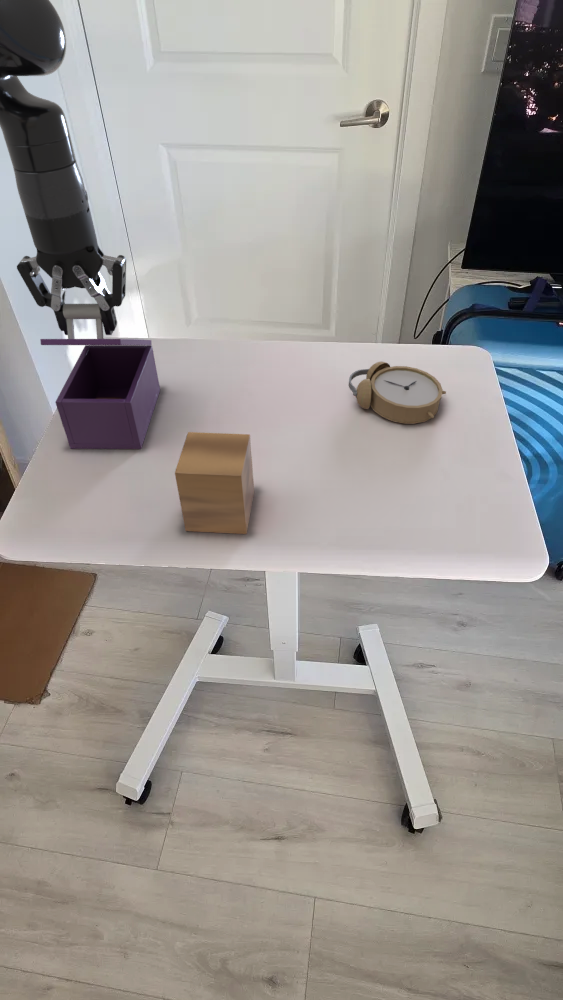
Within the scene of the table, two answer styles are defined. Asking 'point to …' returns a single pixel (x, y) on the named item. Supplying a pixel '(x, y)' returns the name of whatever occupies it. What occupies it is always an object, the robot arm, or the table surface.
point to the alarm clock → (398, 392)
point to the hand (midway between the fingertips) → (90, 331)
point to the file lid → (94, 313)
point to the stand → (216, 482)
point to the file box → (109, 376)
